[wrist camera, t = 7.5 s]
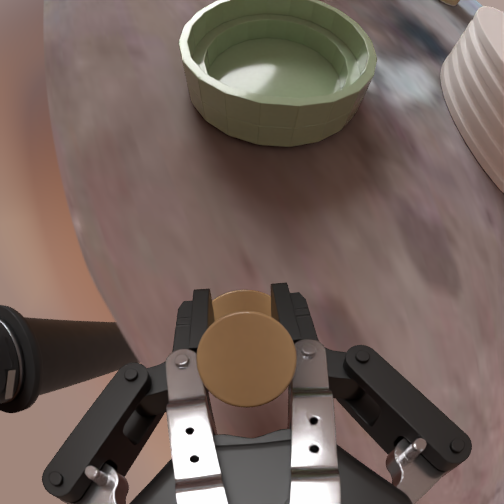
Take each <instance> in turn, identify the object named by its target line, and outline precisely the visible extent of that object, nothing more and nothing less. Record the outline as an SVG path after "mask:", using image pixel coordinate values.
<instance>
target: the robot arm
mask: <svg viewBox="0 0 504 504" xmlns="http://www.w3.org/2000/svg"><path fill="white" fill-rule="evenodd" d="M271 317H272V318H274V319H275V320H277V321H278V322H279V323H280V324H282V325H283V326H284V328H285V329H286V330H287V331H288V333H289V334H290V336H291V338H292V340H293V342H294V345H295V349H296V355H297V363H296V369H295V373H294V376H293V379H292V380H291V382H290V384H289V387H288V427H287V429H283V430H278V431H275V432H272V433H269V434H266V435H263V436H260V437H257V438H245V437H238V436H232V435H226V434H223V435H218V434H217V430H216V426H215V421H214V417H213V412H212V407H211V402H210V397H209V393H208V392H209V391H208V389H207V388H206V387H205V385H204V384H203V382H202V380H201V378H200V376H199V373H198V369H197V362H196V356H197V349H198V345H199V342H200V340H201V338H202V336H203V334H204V333H205V331H206V330H207V329H208V328H209V326H210V325H211V324H213V323H214V322H215V320H214V311H213V305H212V299H211V293H210V289H197V290H194V292H193V301H184V302H183V303H182V304H181V306H180V307H179V309H178V314H177V322H176V329H175V337H174V345H173V351H172V353H171V354H170V355H169V356H168V357H167V359H166V361H165V362H164V363H162V364H160V365H157V366H154V367H150V368H147V369H146V367H145V366H143V365H142V364H139V363H129V364H126V365H124V366H123V367H121V368H120V369H119V371H118V372H117V373H116V374H115V376H114V377H113V379H112V380H111V381H110V382H109V384H108V385H107V386H106V387H105V389H104V390H103V391H102V393H101V394H100V395H99V397H98V398H97V399H96V401H95V402H94V403H93V405H92V406H91V407H90V409H89V410H88V411H87V413H86V414H85V415H84V417H83V418H82V419H81V421H80V422H79V423H78V425H77V426H76V427H75V429H74V430H73V432H72V433H71V434H70V436H69V437H68V438H67V440H66V441H65V442H64V444H63V445H62V447H61V448H60V449H59V451H58V452H57V453H56V455H55V456H54V458H53V459H52V461H51V462H50V463H49V464H48V466H47V467H46V469H45V470H44V473H43V476H42V482H43V485H44V487H45V489H46V490H47V491H48V492H49V493H50V494H52V495H53V496H55V497H57V498H59V499H60V500H62V501H63V502H65V503H67V504H126V496H127V493H128V490H129V485H128V482H127V480H126V478H125V475H126V474H127V472H128V470H129V469H130V467H131V465H132V464H133V463H134V461H135V459H136V458H137V456H138V455H139V453H140V451H141V450H142V448H143V447H144V445H145V443H146V442H147V440H148V439H149V437H150V435H151V434H152V432H153V431H154V429H155V427H156V426H157V424H158V423H159V421H160V420H161V418H162V416H163V415H164V413H165V412H167V421H168V429H169V439H170V447H171V455H172V459H171V460H170V461H169V462H168V463H167V464H166V465H165V466H164V467H163V469H162V470H161V471H160V472H159V473H158V474H157V475H156V476H155V477H154V479H153V480H152V481H151V482H150V483H149V484H148V485H147V486H146V487H145V488H144V489H143V490H142V491H141V492H140V493H139V494H138V495H137V496H136V497H135V499H134V500H133V501H132V502H131V503H130V504H415V503H416V502H417V501H418V500H419V499H420V498H421V497H422V496H423V495H424V494H426V493H427V492H428V491H429V490H430V489H431V488H432V487H433V486H434V485H435V483H436V482H437V481H438V480H439V479H440V478H441V477H443V476H444V475H446V474H447V473H449V472H450V471H451V470H453V469H454V468H455V467H457V466H458V465H459V464H461V463H462V462H463V461H465V460H466V459H467V458H468V457H469V455H470V453H471V449H472V444H471V440H470V438H469V437H468V435H467V434H466V433H464V432H463V431H462V430H461V429H460V428H459V427H458V426H457V425H456V424H455V423H454V422H452V421H451V420H450V419H449V418H448V417H447V416H446V415H445V414H444V413H443V412H442V411H440V410H439V409H438V408H437V407H436V406H435V405H434V404H433V403H432V402H431V401H429V400H428V399H427V398H426V397H425V396H424V395H423V394H422V393H421V392H420V391H419V390H417V389H416V388H415V387H414V386H413V385H412V384H411V383H410V382H409V381H408V380H406V379H405V378H404V377H403V376H402V375H401V374H400V373H399V372H398V371H396V370H395V369H394V368H393V367H392V366H391V365H390V364H389V363H388V362H387V361H385V360H384V359H383V358H382V357H381V356H380V355H379V354H378V353H377V352H375V351H374V350H373V349H372V348H370V347H368V346H364V345H357V346H353V347H351V348H350V349H349V350H348V351H347V352H338V351H332V350H329V349H327V348H325V347H324V346H323V345H322V344H321V343H320V342H319V340H318V338H317V334H316V331H315V328H314V325H313V321H312V318H311V316H310V312H309V309H308V306H307V302H306V299H305V298H304V297H303V296H302V295H301V294H300V293H299V292H297V293H290V292H289V288H288V285H287V283H276V284H271ZM24 382H25V359H24V354H23V350H22V347H21V344H20V342H19V339H18V337H17V335H16V333H15V332H14V330H13V329H12V327H11V326H10V325H9V324H8V323H7V322H6V321H5V320H3V319H2V318H0V403H7V402H11V401H14V400H15V399H16V398H17V397H18V396H19V395H20V393H21V392H22V389H23V386H24ZM333 398H336V399H337V401H338V402H339V403H340V404H341V405H342V406H343V407H344V408H345V409H346V410H347V412H348V413H349V414H350V415H351V416H352V417H353V418H354V419H355V420H356V421H357V422H358V423H359V424H360V426H361V427H362V428H363V429H364V430H365V431H366V432H367V433H368V434H369V435H370V436H371V437H372V438H373V439H374V440H375V441H376V442H377V443H378V445H379V446H380V447H381V448H382V449H383V450H384V451H385V452H386V453H387V454H388V456H387V458H386V468H387V470H388V471H389V473H390V474H391V477H392V484H391V483H390V482H388V481H387V480H385V479H384V478H382V477H381V476H379V475H378V474H377V473H375V472H374V471H372V470H371V469H369V468H368V467H367V466H365V465H364V464H363V463H361V462H360V461H358V460H357V459H356V458H354V457H353V456H352V455H350V454H349V453H348V452H346V451H345V450H344V449H342V448H341V447H340V446H338V445H337V444H336V428H335V414H334V402H333Z"/></svg>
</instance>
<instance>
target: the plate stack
mask: <svg viewBox="0 0 504 504" xmlns="http://www.w3.org/2000/svg"><path fill="white" fill-rule="evenodd" d="M440 80H441V87H442V92H443V95H444V98H445V101H446V104H447V107H448V109H449V112H450V114H451V116H452V118H453V120H454V122H455V124H456V126H457V128H458V130H459V132H460V134H461V135H462V137H463V139H464V141H465V142H466V144H467V145H468V147H469V149H470V150H471V152H472V153H473V155H474V156H475V158H476V159H477V161H478V162H479V164H480V165H481V166H482V168H483V169H484V170H485V172H486V173H487V174H488V176H489V177H490V178H491V180H492V181H493V182H494V183H495V184H496V186H497V187H498V188H499V189H500V190H501V191H502V192H503V193H504V12H502V11H500V10H498V9H495V8H492V7H487V6H483V7H480V8H479V9H478V10H477V12H476V13H475V15H474V19H473V20H471V21H470V23H469V24H468V26H467V28H466V30H465V32H464V33H463V34H462V35H461V37H460V38H459V40H458V42H457V44H456V45H455V46H454V47H453V49H452V51H451V52H450V54H449V55H448V57H447V58H446V59H445V61H444V63H443V65H442V67H441V72H440Z"/></svg>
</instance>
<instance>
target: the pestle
mask: <svg viewBox="0 0 504 504" xmlns="http://www.w3.org/2000/svg"><path fill="white" fill-rule="evenodd" d="M212 305H213V311H214V320H215V322H214V323H213V324H211V325H210V326H209V328H208V329H207V330H206V331H205V333H204V334H203V336H202V338H201V340H200V342H199V345H198V349H197V356H196V362H197V369H198V373H199V376H200V378H201V380H202V382H203V384H204V385H205V387H206V388H207V389H208V391H209V392H210V393H211V394H212V395H214V396H215V397H216V398H218V399H219V400H221V401H222V402H225V403H227V404H229V405H232V406H237V407H246V408H247V407H256V406H261V405H264V404H267V403H269V402H271V401H273V400H274V399H276V398H277V397H278V396H280V395H281V394H282V393H283V392H284V391H285V390H286V388H287V387H288V386H289V384H290V382H291V380H292V379H293V376H294V373H295V369H296V363H297V355H296V349H295V345H294V342H293V340H292V338H291V336H290V334H289V333H288V331H287V330H286V329H285V328H284V326H283V325H282V324H280V323H279V322H278V321H277V320H275V319H274V318H272V317H271V296H269V295H267V294H265V293H262V292H259V291H254V290H236V291H231V292H228V293H225V294H223V295H221V296H219V297H217V298H215V299H214V300H213V301H212Z"/></svg>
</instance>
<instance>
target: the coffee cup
mask: <svg viewBox="0 0 504 504" xmlns="http://www.w3.org/2000/svg"><path fill="white" fill-rule="evenodd" d="M440 1H441V2H443V3H445V4H448V5H450V6H456V5H457V3H458V2H459V1H460V0H440Z"/></svg>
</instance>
